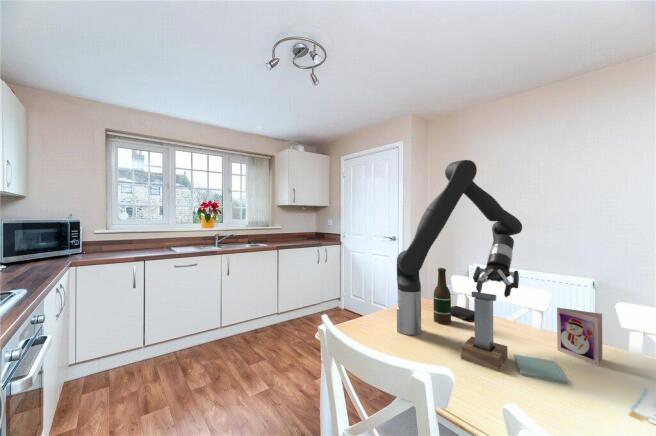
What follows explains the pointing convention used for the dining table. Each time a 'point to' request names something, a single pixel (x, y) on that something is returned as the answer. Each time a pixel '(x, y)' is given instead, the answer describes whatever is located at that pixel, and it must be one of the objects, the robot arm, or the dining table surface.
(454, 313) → the carrying case or bag
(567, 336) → the greeting card
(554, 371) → the pad
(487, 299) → the t key
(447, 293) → the beer bottle
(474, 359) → the socket block
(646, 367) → the dining table surface
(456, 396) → the dining table surface
